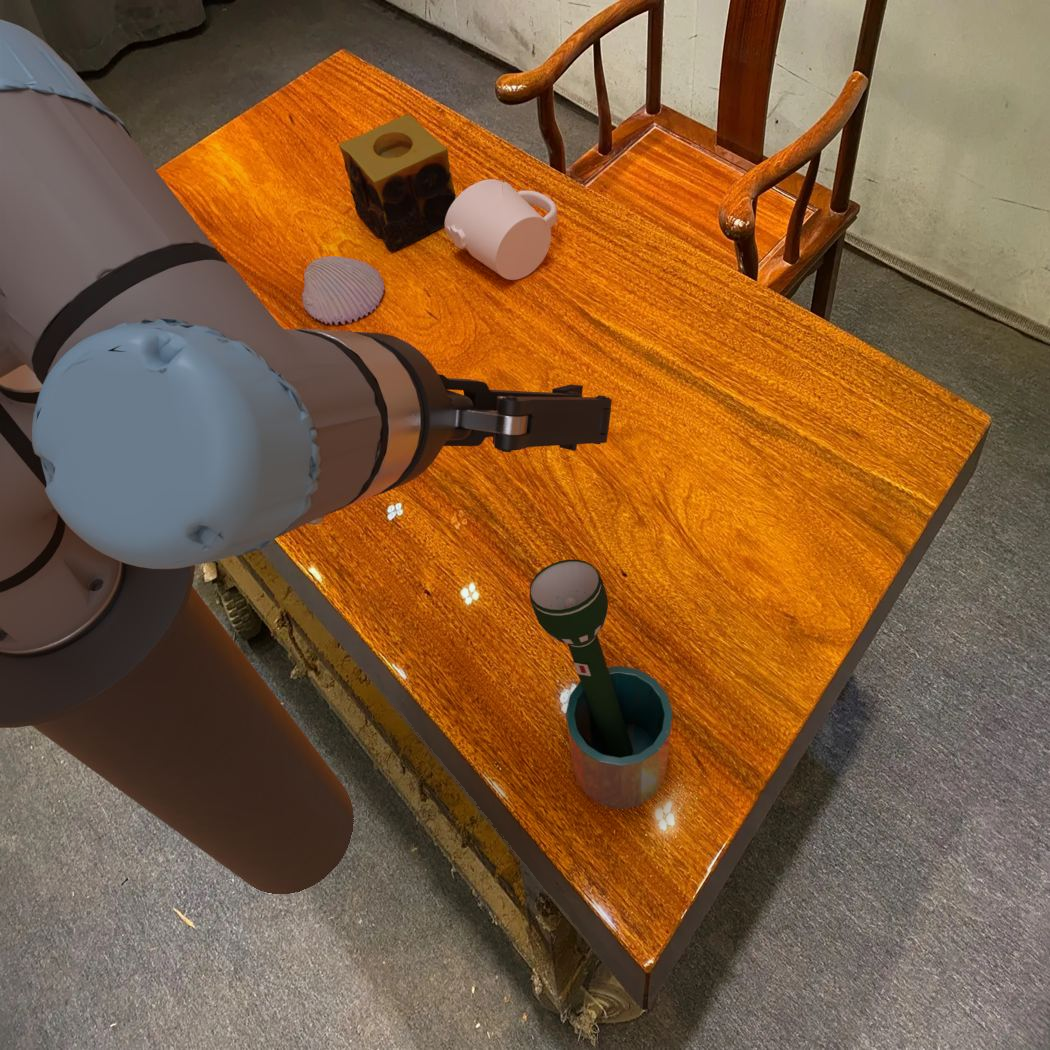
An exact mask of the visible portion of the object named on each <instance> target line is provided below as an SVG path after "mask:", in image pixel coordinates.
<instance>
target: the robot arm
mask: <svg viewBox="0 0 1050 1050" xmlns="http://www.w3.org/2000/svg"><path fill="white" fill-rule="evenodd" d="M57 53H58V52H56V51H55V50H54V49H53V48H52V47H51V45H49V44H48V43H47V42H45V41H44V40H43V39H41V37H39V36H37V35H36V34H35V33H33V32H31V31H30V30H28V29H26V28H25V27H22V26H20V25H18V24H15V23H13V22H9V21H6V20H3V19H0V654H1V655H5V656H9V657H16V658H28V657H36V656H42V655H46V654H49V653H52V652H55V651H58V650H60V649H63V648H65V647H67V646H69V645H71V644H73V643H74V642H76V641H78V640H79V639H81V638H82V637H84V636H85V635H87V634H88V633H89V632H90V631H92V630H93V629H94V628H95V627H96V626H97V625H98V624H99V623H100V622H101V621H102V620H103V619H104V618H105V617H106V615H107V614H108V613H109V612H110V610H111V609H112V607H113V606H114V604H115V603H116V601H117V599H118V597H119V595H120V593H121V590H122V587H123V584H124V580H125V574H126V564H130V565H134V566H137V567H143V568H150V569H176V568H184V567H189V566H193V565H195V566H197V565H202V564H209V563H213V562H217V561H220V560H223V559H227V558H230V557H235V556H244V555H246V554H250V553H252V552H256V551H258V550H261V549H262V548H265V547H267V546H268V545H270V544H271V543H272V542H274V540H275V539H277V538H279V537H281V536H283V535H286V534H288V533H291V532H293V531H294V530H296V529H299V528H300V527H303V526H305V525H313V526H317V525H318V524H321V523H322V522H324V520H325V516H328V515H331V514H332V513H335V512H337V511H340V510H343V509H345V508H348V507H351V506H352V505H354V504H357V503H359V502H362V501H364V500H367V499H369V498H372V497H376V496H379V495H383V494H385V493H388V492H389V491H392V490H394V489H397V488H399V487H401V486H404V485H407V484H408V483H411V482H412V481H414V480H415V479H417V478H418V477H419V476H421V475H422V474H423V473H425V472H426V470H428V469H429V467H430V466H431V465H432V464H433V462H434V461H435V460H436V458H437V457H438V455H440V452H441V451H442V449H443V448H444V447H478V446H480V445H482V444H483V443H484V441H485V439H486V438H492V444H493V446H494V447H493V448H495V449H497V450H498V451H501V452H502V453H512V452H513V451H520V450H523V449H527V448H538V447H554V446H555V447H557V446H559V448H561V449H565V450H568V451H572V452H575V451H577V449H578V448H577V447H578V445H588V444H589V445H590V444H593V445H601V444H605V443H607V442H608V437H609V428H610V422H611V421H610V420H611V413H612V412H611V411H612V402H613V399H612V398H611V397H607V396H606V395H601V394H600V395H599V394H598V395H597V396H584V395H583V391H584V390H583V389H584V385H581V384H572V383H571V384H567V385H562V386H558V387H555V388H552V390H551V392H549V391H548V392H546V391H529V390H528V391H525V390H507V389H506V390H505V389H503V390H502V389H490V387H489V386H488V384H487V382H485V381H481V380H477V379H472V378H459V377H458V378H457V377H446V375H444V374H441V373H438V371H437V370H436V369H435V366H434V365H433V364H432V362H431V361H430V360H429V359H428V358H427V357H426V355H424V354H423V353H422V352H421V351H420V350H419V349H418V348H416V347H415V346H413V345H412V344H411V343H409V342H407V341H405V340H403V339H402V338H399V337H398V336H397V337H396V336H394V335H391V334H386V333H380V332H368V331H367V332H366V331H365V332H364V331H363V332H362V331H351V330H338V329H337V330H335V329H321V328H319V329H318V328H296V329H291V328H283V327H282V326H281V324H280V323H279V322H278V321H277V320H276V318H275V317H274V316H273V314H272V313H271V312H270V310H269V309H268V308H267V307H266V306H265V304H263V302H262V301H261V299H259V297H258V296H257V295H256V293H255V292H254V291H253V290H252V288H251V287H250V286H249V284H248V283H247V282H246V281H245V280H244V278H243V277H242V276H241V275H240V273H239V272H238V271H237V269H236V268H235V267H234V266H233V265H231V264H230V263H229V262H228V261H227V260H226V258H225V257H224V256H223V254H222V253H220V251H218V249H217V248H216V247H215V246H214V244H213V242H212V241H211V240H210V239H209V238H208V236H207V235H206V234H205V233H204V231H203V230H202V228H201V227H200V226H199V225H198V223H197V222H196V221H195V219H194V218H193V217H192V215H191V214H190V213H189V212H188V210H187V209H186V208H185V206H184V204H182V202H181V201H180V200H179V199H178V197H177V195H175V193H174V192H173V191H172V190H171V188H170V186H169V185H168V183H166V181H165V180H164V179H163V178H162V176H161V175H160V174H159V172H158V171H157V169H155V167H154V166H153V165H152V163H151V162H150V161H149V159H148V158H147V156H146V155H145V154H144V152H143V151H142V150H141V149H140V147H138V145H137V144H136V143H135V141H134V139H133V137H132V136H131V135H132V134H131V133H130V131H129V130H128V128H127V126H126V125H125V123H124V122H123V121H122V120H121V118H120V117H119V116H117V114H115V113H114V112H113V111H112V110H111V109H110V108H109V107H108V105H106V104H104V103H103V102H102V101H101V100H100V99H99V97H98V96H97V95H96V94H95V93H94V92H93V90H91V88H90V87H89V86H88V85H87V84H86V83H85V81H84V80H83V79H82V78H81V77H80V75H78V74H77V72H76V71H75V70H74V69H73V67H71V65H70V64H68V63H67V62H66V61H65V60H63V58H61V56H60V55H58V54H57ZM455 391H463V394H461V393H458V392H455Z"/></svg>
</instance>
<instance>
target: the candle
mask: <svg viewBox="0 0 1050 1050" xmlns="http://www.w3.org/2000/svg"><path fill="white" fill-rule="evenodd" d="M338 147H339V149H340V152H341V155H342V159H343V162H344V169H345V171H346V173H347V174H346V175H347V178H348V180H349V187H350V194H351V197H352V200H353V202H354V209H355V212H356V214H357V216H358V217H359V218H360V219H361V220H362V221H363V222H364V224H365V225H366V227H368V228H369V230H371V232H372V233H373V235H375V237H377V238H381V239H382V241H383V243H384V244H385V247H386V248H387V250H388V251H390V252H395V251H397V250H399V249H402V248H404V247H406V246H408V245H410V244H411V245H412V243H414V242H416V241H418V240H420V239H423V238H424V237H426V236H427V235H431V234H432V233H434V232H436V231H438V230H439V229H441V228H443V227H445V218H446V214H447V212H448V210H449V208H450V206H451V204H452V203H453V202H454V200H455V199H456V198H457V195H456V191H455V187H454V183H453V175H452V172H451V170H450V168H451V164H450V160H449V159H450V158H449V152H448V151H449V149H448V148H447V147H446V146H445V145H444V144H443V143H442V142H441V141H440V140H438V139H437V138H436V137H435V136H433V134H431V133H430V132H429V131H428V130H426V128H425V127H423V125H422V124H421V123H420V122H419V121H417V120H416V118H414V117H413V116H412V115H411V114H408V113H406V114H403V115H401V116H399V117H396V118H394V119H393V120H391V121H389V122H386V123H384V124H382V125H378V126H377V127H375V128H372V129H371V130H368V131H366V132H364V133H362V134H360V135H358V136H355V137H353V138H350V139H348V140H345V141H343V142H340V143H339V145H338Z"/></svg>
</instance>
